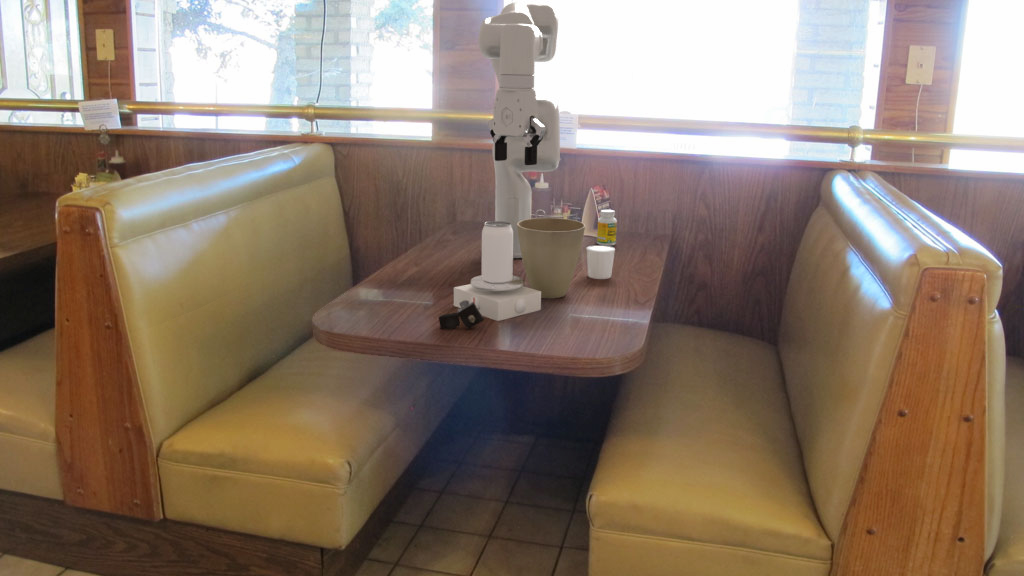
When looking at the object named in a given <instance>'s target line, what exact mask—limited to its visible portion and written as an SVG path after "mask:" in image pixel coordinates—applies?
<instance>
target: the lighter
mask: <svg viewBox="0 0 1024 576" xmlns="http://www.w3.org/2000/svg"><path fill="white" fill-rule="evenodd" d="M459 304H460V306H461V308H457V312H452V313H443V314H441V315H439V316H438V321H439V322H438V323H439V326H440V327H439V328H440V329H443V330H451V329H456V328H458V327H459V326H461V325H460V324H461V323H460V322H462V323H463V325H464V326H465V328H466V329H467V330H470V329H472V328H473V327H475V326H477V325H478V324H480V323H482V322H483V321H484V320H485V316H482V315H481V314H480V312H479V311H478V309H477V307H476V306H475V304H474V303H473V302H472V303H470V304H469V301H468V300H466V301H465V300H464V301H462V302H460V303H459ZM460 320H461V321H460Z"/></svg>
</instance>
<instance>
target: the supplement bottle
mask: <svg viewBox="0 0 1024 576" xmlns="http://www.w3.org/2000/svg"><path fill="white" fill-rule="evenodd" d="M599 215H600V217H598V219H597V233H596V234H597V235H596V243H597V245H602V246H610V247H613V246H616V244H617V228H618V227H617V225H618V224H617V223H618V220H617V218H616V217H615V215H616V212H615V210H613V209H601V210H600V214H599Z"/></svg>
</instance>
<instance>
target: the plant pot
mask: <svg viewBox="0 0 1024 576" xmlns="http://www.w3.org/2000/svg"><path fill="white" fill-rule="evenodd" d="M517 229H518V237H519V244H520V250H521V255H522V258H521V259H522V263H523V267H524V272H525V274H526V277H527V281H528V285H529V288H531V289H534V290H538V291H541V299H559V298H562V297H565V296H566V294H567V292H568V290H569V288H570V285H571V282H572V280H573V277H574V274H575V271H576V268H577V264H578V262H579V258H580V255H581V250H582V247H583V240H584V235H585V230H586V224H585V223H584V222H581V221H579V220H576V219H569V218H561V217H534V218H533V217H531V219H526V220H522V221H519V222H518V223H517Z"/></svg>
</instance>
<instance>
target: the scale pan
mask: <svg viewBox="0 0 1024 576" xmlns="http://www.w3.org/2000/svg"><path fill="white" fill-rule="evenodd" d="M524 283H525V282H524V279H523V278H522V277H519V276H517V275H513V278H512V280H511V281H510V282H508V283H504V284H492V283H487V282H484V281H483V279H482V274H481V275H477V276H474V277H473V278H471V279H470V284H471V286H472V287H474V288H476V289H480V290H485V291H511V290H516V289H519V288H521V287H523V286H524Z"/></svg>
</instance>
